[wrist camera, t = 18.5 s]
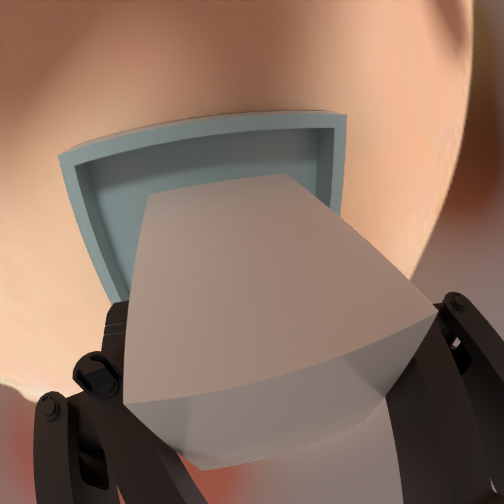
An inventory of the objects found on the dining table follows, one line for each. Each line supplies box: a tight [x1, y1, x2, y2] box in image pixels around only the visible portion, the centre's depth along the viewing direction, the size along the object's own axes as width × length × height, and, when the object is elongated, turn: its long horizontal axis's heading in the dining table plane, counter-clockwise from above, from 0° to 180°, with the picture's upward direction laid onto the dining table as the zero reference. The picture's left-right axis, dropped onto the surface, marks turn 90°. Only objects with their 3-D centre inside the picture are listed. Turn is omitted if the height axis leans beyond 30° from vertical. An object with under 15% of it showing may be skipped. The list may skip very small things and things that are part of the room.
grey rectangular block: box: [123, 173, 439, 471], centre depth 9 cm, size 6×6×9 cm
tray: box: [58, 110, 347, 305], centre depth 18 cm, size 16×20×3 cm
